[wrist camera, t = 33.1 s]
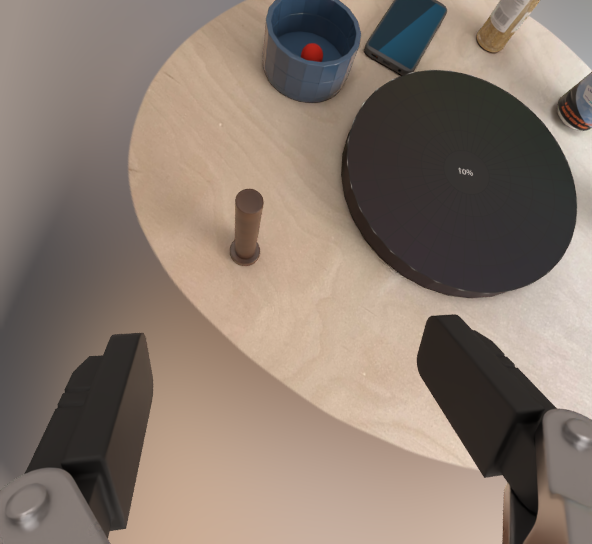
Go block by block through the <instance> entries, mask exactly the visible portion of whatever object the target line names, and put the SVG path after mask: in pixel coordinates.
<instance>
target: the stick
mask: <svg viewBox="0 0 592 544" xmlns="http://www.w3.org/2000/svg"><path fill="white" fill-rule="evenodd" d="M263 203H264V202H263V197H262V196H261V194H260V193H259V192H257V191H256V190H253V189H244V190H242V191H240V192H239V193H238V194H237V196H236V200H235V240H234V241H233V242H232V244H231V247H230V255H231V258H232V259H233V261H234V262H235V263H237V264H238V265H241V266H249V265H252V264H253V263H255V262H256V261H257V259H258V257H259V254H260V247H259V244H258V243H257V238H258V232H259V227H260V221H261V215H262V209H263Z"/></svg>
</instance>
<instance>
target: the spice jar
mask: <svg viewBox="0 0 592 544" xmlns="http://www.w3.org/2000/svg"><path fill="white" fill-rule="evenodd" d="M539 1H540V0H500V2H499V3H498V4H497V6H496V7H495V9H494V10H493V12H492V13H491V15H490V17H489V18H488V20H487V21H486V23H485V24H484V25H483V27H482V28H481V29H480V30H479V31H478V33H477V41H478V43H479V44H480V45H481V47H483V48H484V49H485V50H487V51H490V52H498V51H500V50H502V49H503V48H504V46H505V44H506V43H507V42H508V40H509V39H510V38H511V37H512V35H513V34H514V33H515V32H516V31H517V30H518V28H519V27H520V26H521V25H522V23H523V22H524V21H525V20H526V18H527V17H528V16H529V15H530V13H531V12H532V10H533V9H534V8H535V7H536V6H537V4H538V3H539Z"/></svg>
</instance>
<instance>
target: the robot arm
mask: <svg viewBox="0 0 592 544" xmlns="http://www.w3.org/2000/svg"><path fill="white" fill-rule="evenodd" d="M417 367H418V371H419V374H420V376H421V378H422V379H423V381H424V383H425V384H426V386H427V387H428V389H429V390H430V392H431V394H432V395H433V397H434V398H435V400H436V402H437V403H438V405H439V406H440V408H441V410H442V411H443V413H444V414H445V416H446V418H447V419H448V421H449V422H450V424H451V425H452V427H453V429H454V430H455V432H456V433H457V435H458V437H459V438H460V440H461V441H462V443H463V445H464V446H465V448H466V449H467V451H468V452H469V454H470V456H471V457H472V459H473V460H474V462H475V464H476V465H477V467H478V468H479V470H480V472H481V473H482V475H483V476H484V478H486V477H493V476H499V475H503V476H504V478H505V479H506V480H507V482H508V483H507V485H506V486H505V489H504V506H503V508H504V510H503V543H502V544H592V420H591V419H589V418H587V417H585V416H583V415H581V414H579V413H576V412H574V411H570V410H566V409H557V408H556V407H555V406H554V405H553V404H552V403H551V402H550V401H549V400H548V399H547V398H546V397H545V396H544V395H543V394H542V393H541V392H540V391H539V390H538V388H537V387H536V386H535V385H534V384H533V383H532V382H531V381H530V380H529V379H528V378H527V377H526V376H525V375H524V374H523V373H522V372H521V371H520V370H519V369H518V368H515V365H514V363H513V362H512V361H511V360H510V359H509V358H508V357H505V356H504V353H503V352H502V351H501V350H500V349H499V348H498V347H497V346H496V345H495V344H494V343H493V342H492V341H491V340H489V339H488V338H486V337H485V336H483V335H482V334H480V333H478V332H477V331H475V330H472V329H471V328H470V327H469V326H468V325H467V324H466V323H465V322H464V321H463V320H462V319H461V318H460V317H459V316H458V315H439V316H430V317H429V318H428V320H427V322H426V325H425V329H424V333H423V336H422V340H421V344H420V347H419V351H418V355H417ZM152 397H153V376H152V370H151V365H150V359H149V353H148V348H147V342H146V338H145V335H144V333H132V334H117V335H116V334H115V335H112V336H111V337H110V340H109V342H108V345H107V347H106V350H105V352H104V355H103V356H89V357H88V358H87V359H86V360H85V361H84V362H83V363H82V364H81V365H80V366H79V367H78V368H77V369H76V370H75V371H74V372H73V373H72V375H71V378H70V380H69V382H68V384H67V386H66V388H65V393H63V394H62V397H61V399H60V401H59V403H58V408H57V409H55V411H54V414H53V416H52V418H51V420H50V422H49V424H48V426H47V428H46V430H45V432H44V435H43V437H42V439H41V441H40V443H39V445H38V447H37V449H36V451H35V453H34V456H33V458H32V460H31V462H30V464H29V466H28V468H27V470H26V472H25V474H24V475H22V476H20V477H18V478H16V479H15V480H13V481H12V482H10V483H9V484H7V485H6V486H5V487H4V488H2V489H1V490H0V544H110V542H109V540H108V535H109V531H113V530H119V529H126V526H127V521H128V516H129V511H130V506H131V501H132V497H133V492H134V486H135V482H136V477H137V472H138V467H139V462H140V457H141V452H142V447H143V442H144V437H145V432H146V428H147V422H148V418H149V413H150V408H151V403H152Z"/></svg>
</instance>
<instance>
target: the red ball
mask: <svg viewBox="0 0 592 544" xmlns="http://www.w3.org/2000/svg"><path fill="white" fill-rule="evenodd" d="M301 58H303V59H306V60H309V61H317V62H322V60H323V52H322V49H321V48H320V46H319V45H317V44H315V43H310V44H307V45H306V46H305V47H304V48H303V50H302V52H301Z"/></svg>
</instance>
